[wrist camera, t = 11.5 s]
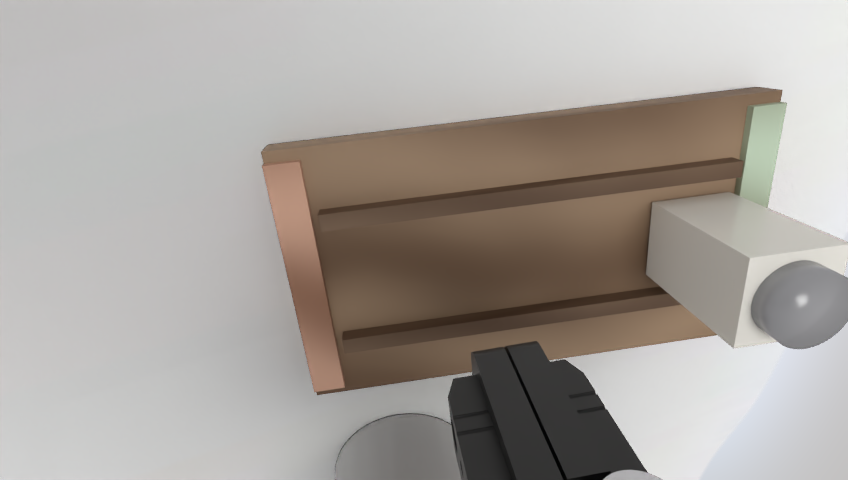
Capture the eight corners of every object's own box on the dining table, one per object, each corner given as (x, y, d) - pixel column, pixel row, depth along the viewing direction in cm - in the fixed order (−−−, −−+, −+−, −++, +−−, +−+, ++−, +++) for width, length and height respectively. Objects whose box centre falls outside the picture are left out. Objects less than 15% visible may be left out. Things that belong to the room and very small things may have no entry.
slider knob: (652, 202, 18) (772, 270, 13) (729, 192, 18) (880, 255, 13) (645, 274, 19) (753, 365, 14) (718, 264, 19) (852, 349, 14)
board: (267, 144, 17) (257, 156, 15) (757, 87, 18) (796, 91, 16) (319, 376, 21) (315, 405, 19) (719, 316, 22) (748, 339, 20)
